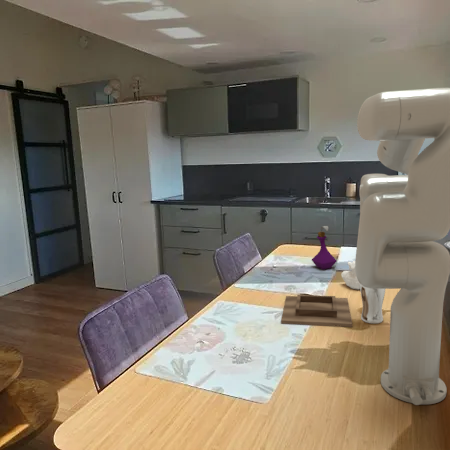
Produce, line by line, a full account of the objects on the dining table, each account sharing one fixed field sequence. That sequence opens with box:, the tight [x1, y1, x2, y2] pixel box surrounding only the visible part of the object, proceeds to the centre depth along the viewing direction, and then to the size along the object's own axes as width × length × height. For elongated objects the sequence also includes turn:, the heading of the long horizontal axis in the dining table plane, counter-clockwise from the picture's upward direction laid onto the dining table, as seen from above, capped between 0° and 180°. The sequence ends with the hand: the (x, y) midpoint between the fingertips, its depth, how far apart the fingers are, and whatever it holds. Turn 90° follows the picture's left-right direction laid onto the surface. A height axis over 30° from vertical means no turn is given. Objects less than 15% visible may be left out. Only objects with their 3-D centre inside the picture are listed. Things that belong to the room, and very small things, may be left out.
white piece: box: [359, 284, 386, 325], centre depth 118 cm, size 7×7×15 cm
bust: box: [340, 260, 360, 290], centre depth 144 cm, size 12×8×11 cm
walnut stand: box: [280, 294, 353, 328], centre depth 126 cm, size 20×20×3 cm
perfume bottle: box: [311, 225, 337, 270], centre depth 169 cm, size 8×8×18 cm
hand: (372, 276), depth 117 cm, fingers open, 9 cm apart
